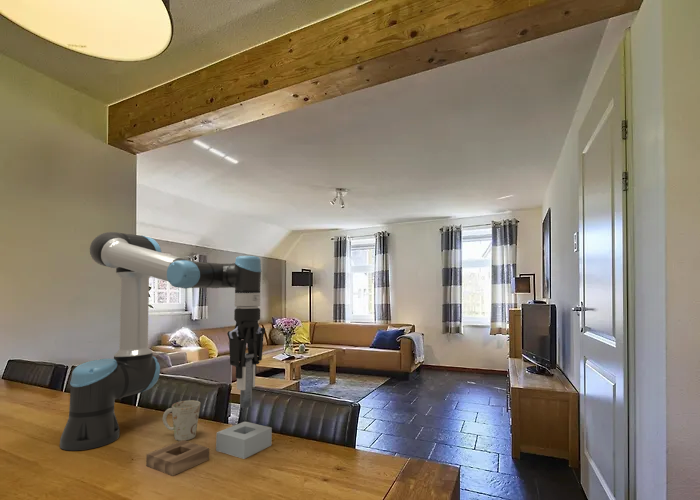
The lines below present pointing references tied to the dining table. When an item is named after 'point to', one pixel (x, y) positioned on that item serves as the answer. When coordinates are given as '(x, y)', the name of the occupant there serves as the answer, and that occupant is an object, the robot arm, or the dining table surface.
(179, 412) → the mug
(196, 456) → the block
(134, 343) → the robot arm
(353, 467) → the dining table surface
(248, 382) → the pin
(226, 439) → the socket
